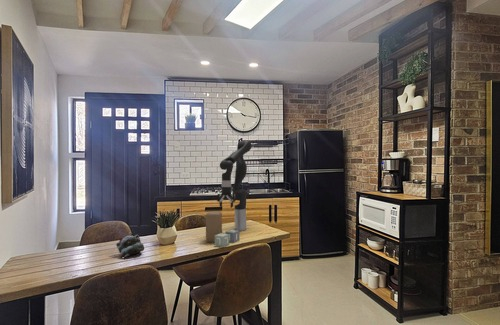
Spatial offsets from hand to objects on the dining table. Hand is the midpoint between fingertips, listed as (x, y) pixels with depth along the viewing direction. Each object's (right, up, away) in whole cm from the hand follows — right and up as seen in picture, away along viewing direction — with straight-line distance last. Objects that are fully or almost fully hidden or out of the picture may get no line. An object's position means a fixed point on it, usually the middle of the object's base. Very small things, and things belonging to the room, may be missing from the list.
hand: (226, 207), depth 226 cm
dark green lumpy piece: (-55, -23, -46) cm, 75 cm away
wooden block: (-7, -22, -16) cm, 28 cm away
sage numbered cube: (-1, -21, -28) cm, 35 cm away
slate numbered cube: (+6, -21, -18) cm, 28 cm away
